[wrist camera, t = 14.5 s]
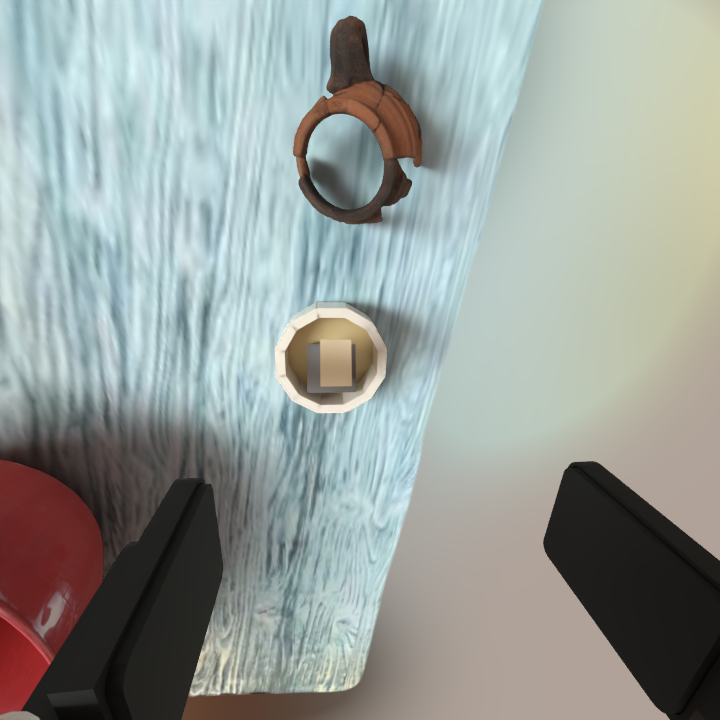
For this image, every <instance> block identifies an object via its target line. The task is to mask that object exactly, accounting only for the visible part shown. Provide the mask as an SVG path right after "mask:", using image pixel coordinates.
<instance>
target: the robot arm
mask: <svg viewBox="0 0 720 720" xmlns="http://www.w3.org/2000/svg"><path fill="white" fill-rule="evenodd" d="M543 544H544V549H545V552H546V554H547V556H548V557H549V559H550V560H551V561H552V563H553V564H554V566H555V567H556V568H557V570H558V571H559V573H560V574H561V575H562V577H563V578H564V579H565V581H566V582H567V584H568V585H569V587H570V588H571V589H572V591H573V592H574V594H575V595H576V596H577V598H578V599H579V600H580V602H581V603H582V605H583V606H584V608H585V609H586V610H587V612H588V613H589V615H590V616H591V617H592V619H593V620H594V621H595V623H596V624H597V626H598V627H599V628H600V630H601V631H602V632H603V634H604V635H605V637H606V638H607V640H608V641H609V642H610V644H611V645H612V647H613V648H614V649H615V651H616V652H617V653H618V655H619V656H620V658H621V659H622V661H623V662H624V663H625V665H626V666H627V668H628V669H629V670H630V672H631V673H632V675H633V676H634V677H635V679H636V680H637V681H638V683H639V684H640V686H641V687H642V688H643V690H644V691H645V693H646V694H647V696H648V697H649V698H650V700H651V701H652V702H653V703H654V705H655V706H656V707H657V708H658V709H659V710H660V711H662V712H663V713H666V715H667V716H668V718H669V719H670V720H720V561H719V560H718V559H717V558H715V557H714V556H713V555H712V554H711V553H709V552H708V551H707V550H706V549H704V548H703V547H702V546H701V545H699V544H698V543H697V542H696V541H694V540H693V539H692V538H691V537H689V536H688V535H687V534H686V533H685V532H683V531H682V530H681V529H680V528H678V527H677V526H676V525H674V524H673V523H672V522H671V521H670V520H668V519H667V518H666V517H665V516H663V515H662V514H661V513H660V512H659V511H657V510H656V509H655V508H654V507H652V506H651V505H650V504H649V503H647V502H646V501H645V500H644V499H643V498H641V497H640V496H639V495H637V494H636V493H635V492H634V491H633V490H631V489H630V488H629V487H628V486H626V485H625V484H624V483H623V482H621V481H620V480H619V479H618V478H617V477H615V476H614V475H613V474H612V473H610V472H609V471H608V470H607V469H605V468H604V467H603V466H602V465H600V464H599V463H597V462H593V461H588V462H574V463H571V464H570V465H569V467H568V468H567V469H566V470H565V471H564V474H563V477H562V480H561V484H560V487H559V490H558V494H557V497H556V500H555V504H554V507H553V511H552V514H551V517H550V520H549V524H548V527H547V530H546V534H545V537H544V541H543ZM222 573H223V560H222V553H221V546H220V539H219V532H218V525H217V517H216V510H215V503H214V496H213V489H212V485H211V484H205V482H204V480H203V478H187V479H177V480H175V481H174V483H173V484H172V486H171V487H170V489H169V491H168V493H167V494H166V496H165V498H164V499H163V501H162V503H161V504H160V506H159V508H158V509H157V511H156V513H155V514H154V516H153V518H152V519H151V521H150V523H149V524H148V526H147V528H146V529H145V531H144V533H143V534H142V536H141V538H140V539H139V541H138V542H131V543H129V544H128V545H127V546H126V547H125V548H124V549H123V551H122V552H121V553H120V555H119V556H118V558H117V559H116V561H115V563H114V564H113V566H112V567H111V569H110V570H109V572H108V574H107V575H106V577H105V578H104V580H103V582H102V583H101V585H100V586H99V588H98V589H97V591H96V593H95V594H94V596H93V597H92V599H91V601H90V602H89V604H88V605H87V607H86V608H85V610H84V612H83V613H82V615H81V616H80V618H79V620H78V621H77V623H76V624H75V626H74V627H73V629H72V631H71V632H70V634H69V635H68V637H67V639H66V640H65V642H64V643H63V645H62V646H61V648H60V650H59V651H58V653H57V654H56V656H55V657H54V659H53V661H52V662H51V664H50V665H49V667H48V669H47V670H46V672H45V673H44V675H43V676H42V678H41V680H40V681H39V683H38V684H37V686H36V688H35V689H34V691H33V692H32V694H31V695H30V697H29V699H28V700H27V702H26V703H25V705H24V707H23V708H22V710H21V711H20V712H9V713H6V714H3V715H0V720H181V718H182V715H183V712H184V708H185V705H186V701H187V698H188V694H189V691H190V687H191V684H192V680H193V677H194V673H195V670H196V666H197V663H198V659H199V656H200V652H201V649H202V646H203V642H204V639H205V635H206V632H207V628H208V625H209V621H210V618H211V614H212V611H213V607H214V604H215V600H216V597H217V593H218V590H219V586H220V583H221V579H222Z"/></svg>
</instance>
